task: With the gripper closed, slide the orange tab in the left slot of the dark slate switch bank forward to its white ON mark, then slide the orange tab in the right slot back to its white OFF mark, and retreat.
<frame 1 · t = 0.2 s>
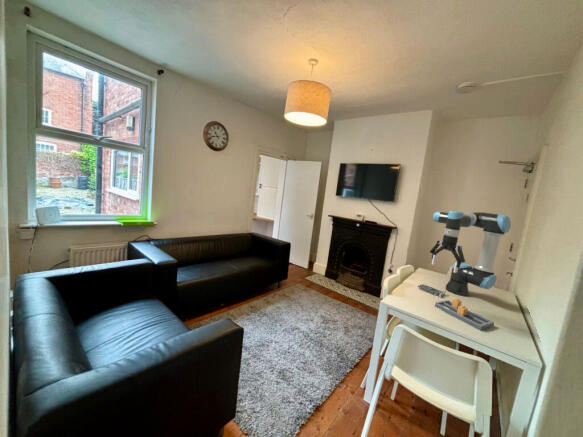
hand: (443, 268, 145), 27 cm above the table, fingers open, 13 cm apart
switch bank: (462, 315, 142), on the table
tab B: (462, 310, 139), point 5 cm above the table, slide at 7.0 cm
graphics card: (431, 292, 176), on the table
tab A: (456, 303, 148), point 5 cm above the table, slide at 0.0 cm
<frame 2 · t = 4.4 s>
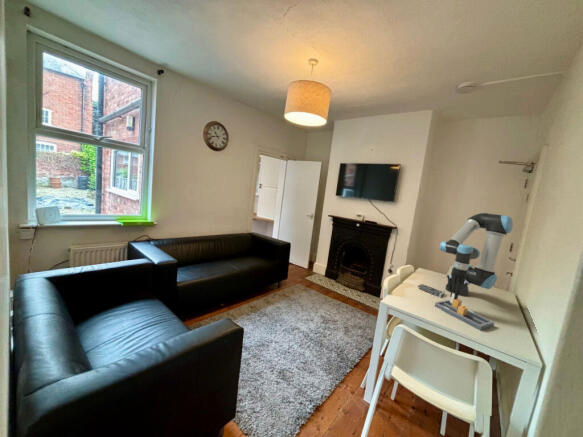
hand: (452, 302, 150), 4 cm above the table, fingers closed
tab A: (456, 303, 148), point 5 cm above the table, slide at 0.0 cm, touching gripper
everything else where it was.
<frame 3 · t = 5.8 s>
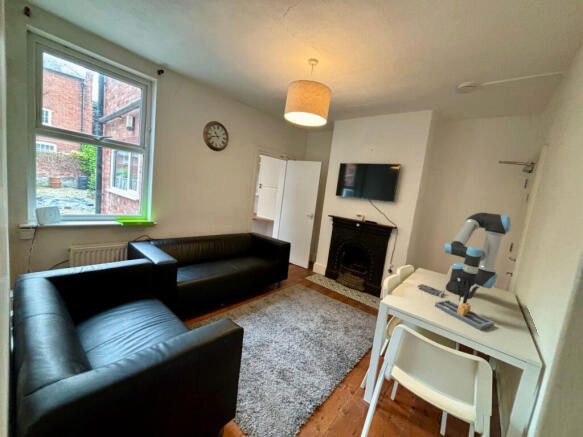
hand: (461, 306, 145), 4 cm above the table, fingers closed
tab A: (465, 307, 143), point 5 cm above the table, slide at 5.3 cm, touching gripper
everything else where it was.
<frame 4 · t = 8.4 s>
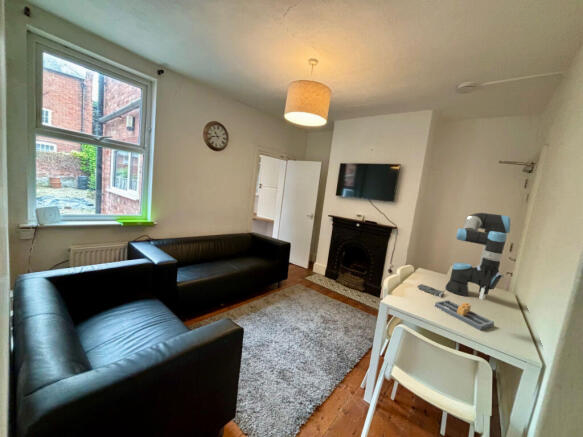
hand: (481, 298, 130), 16 cm above the table, fingers closed
tab A: (465, 307, 143), point 5 cm above the table, slide at 5.3 cm
everything else where it was.
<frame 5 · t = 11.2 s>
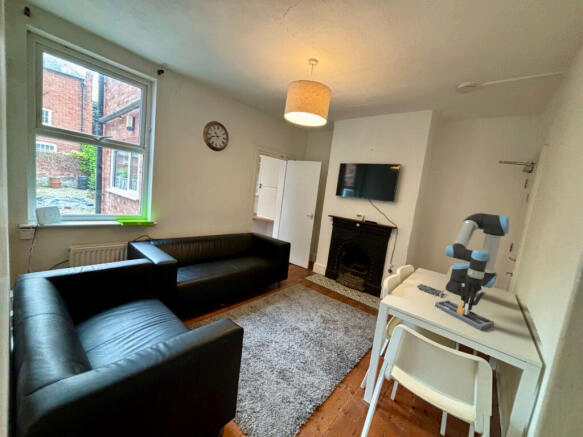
hand: (466, 313, 137), 4 cm above the table, fingers closed
tab B: (462, 310, 139), point 5 cm above the table, slide at 6.8 cm, touching gripper
everything else where it was.
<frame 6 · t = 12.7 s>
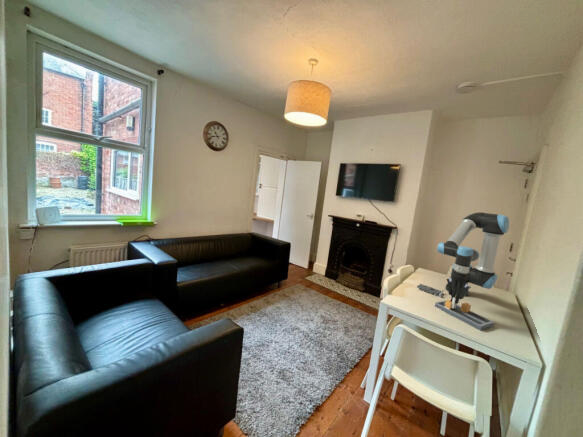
hand: (453, 307, 143), 4 cm above the table, fingers closed
tab B: (449, 303, 145), point 5 cm above the table, slide at -0.4 cm, touching gripper
everything else where it was.
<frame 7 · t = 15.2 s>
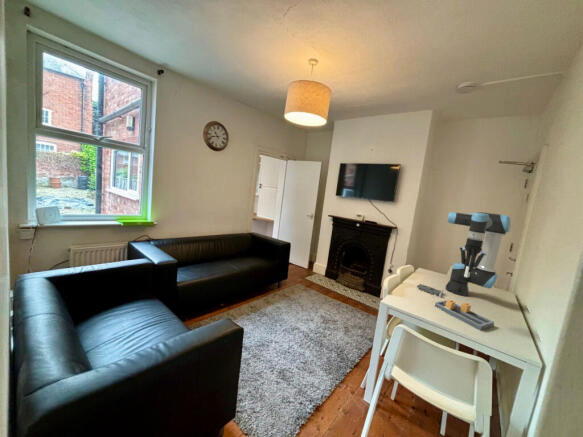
hand: (466, 276, 138), 25 cm above the table, fingers closed
tab B: (450, 304, 145), point 5 cm above the table, slide at -0.1 cm
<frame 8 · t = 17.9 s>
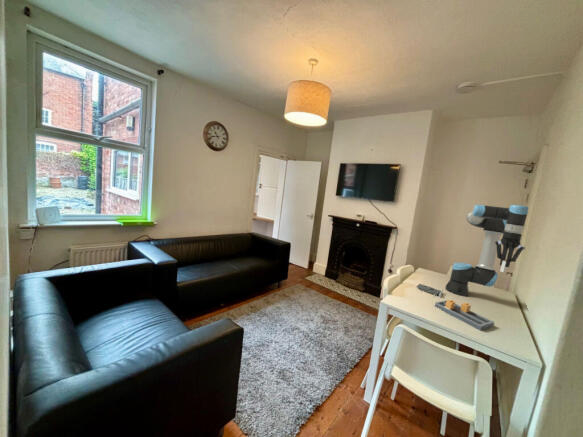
hand: (502, 271, 133), 32 cm above the table, fingers closed
at the end: tab A slide at 5.3 cm; tab B slide at -0.1 cm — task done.
